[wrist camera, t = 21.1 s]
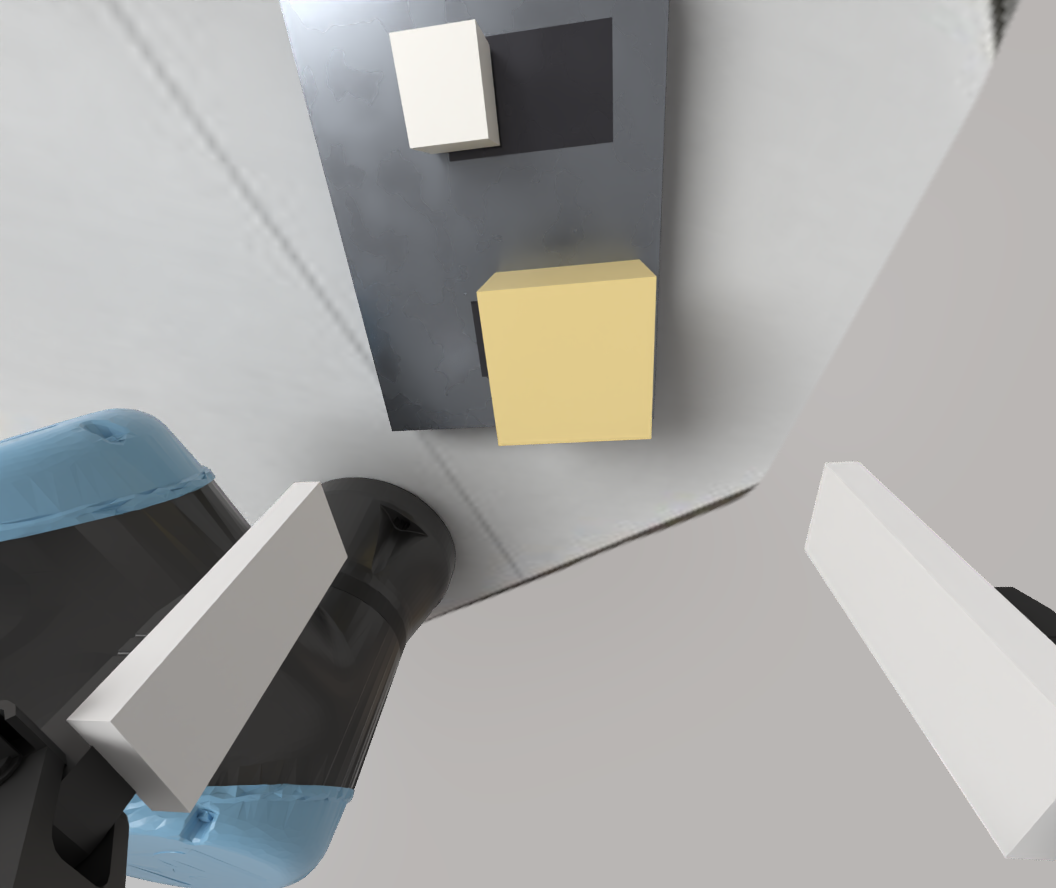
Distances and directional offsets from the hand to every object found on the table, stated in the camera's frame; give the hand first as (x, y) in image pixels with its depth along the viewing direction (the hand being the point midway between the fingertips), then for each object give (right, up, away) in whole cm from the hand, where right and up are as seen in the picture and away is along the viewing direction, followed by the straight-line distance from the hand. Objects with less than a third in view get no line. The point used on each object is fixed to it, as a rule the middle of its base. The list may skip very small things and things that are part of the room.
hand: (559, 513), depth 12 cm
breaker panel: (-2, +15, +16) cm, 22 cm away
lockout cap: (+2, +8, +16) cm, 18 cm away
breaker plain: (-4, +19, +10) cm, 22 cm away
